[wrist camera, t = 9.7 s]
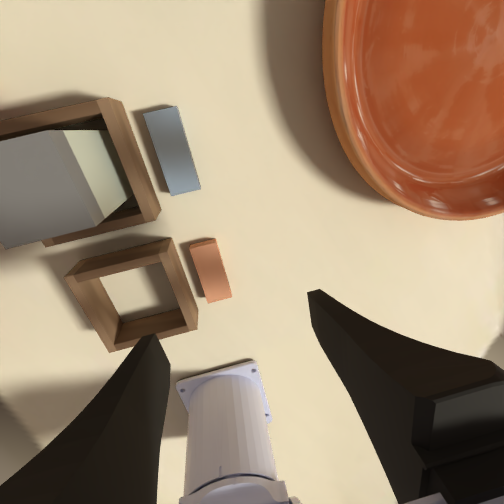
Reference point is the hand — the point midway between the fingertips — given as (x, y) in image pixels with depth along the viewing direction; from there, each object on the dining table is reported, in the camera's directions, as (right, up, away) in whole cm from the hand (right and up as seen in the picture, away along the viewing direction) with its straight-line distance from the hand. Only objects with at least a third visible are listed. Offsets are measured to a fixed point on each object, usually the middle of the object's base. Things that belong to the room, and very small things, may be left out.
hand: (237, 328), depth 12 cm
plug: (-10, +9, +5) cm, 14 cm away
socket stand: (-7, +5, +7) cm, 11 cm away
